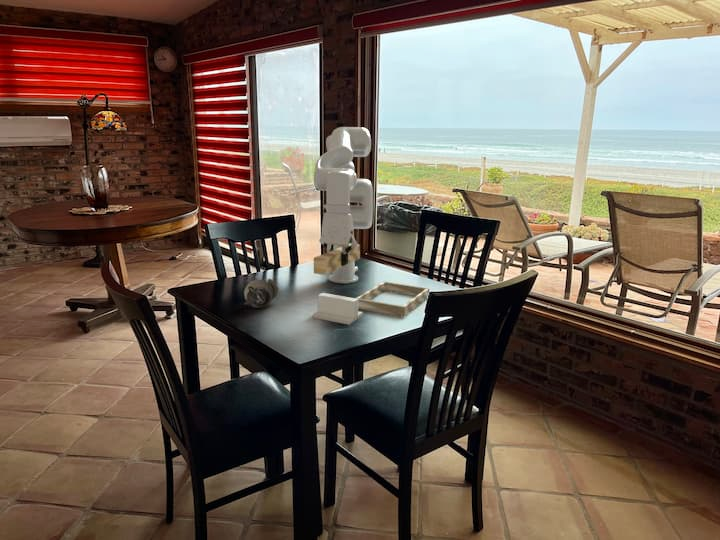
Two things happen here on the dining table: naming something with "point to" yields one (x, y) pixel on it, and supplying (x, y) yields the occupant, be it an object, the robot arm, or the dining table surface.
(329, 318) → the ridge block
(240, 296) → the dining table surface
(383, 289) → the birch crate frame
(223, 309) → the dining table surface
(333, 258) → the oak batten
